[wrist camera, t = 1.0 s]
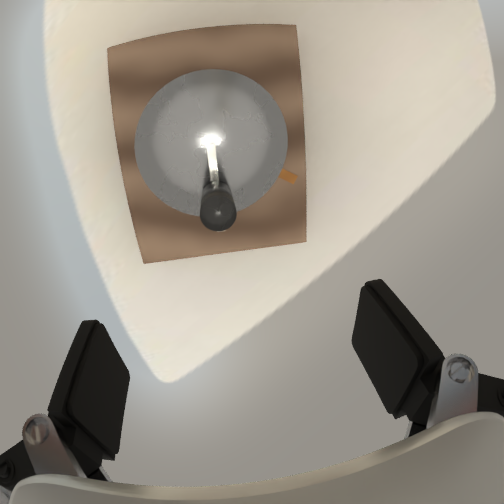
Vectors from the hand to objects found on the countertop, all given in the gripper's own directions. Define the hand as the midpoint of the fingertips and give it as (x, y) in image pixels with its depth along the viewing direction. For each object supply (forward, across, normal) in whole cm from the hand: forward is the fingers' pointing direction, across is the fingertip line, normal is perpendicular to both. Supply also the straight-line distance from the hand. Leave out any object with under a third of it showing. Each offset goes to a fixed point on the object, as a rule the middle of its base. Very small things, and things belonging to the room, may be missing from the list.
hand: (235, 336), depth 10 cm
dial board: (+20, 0, -5) cm, 21 cm away
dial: (+18, 0, -5) cm, 19 cm away
